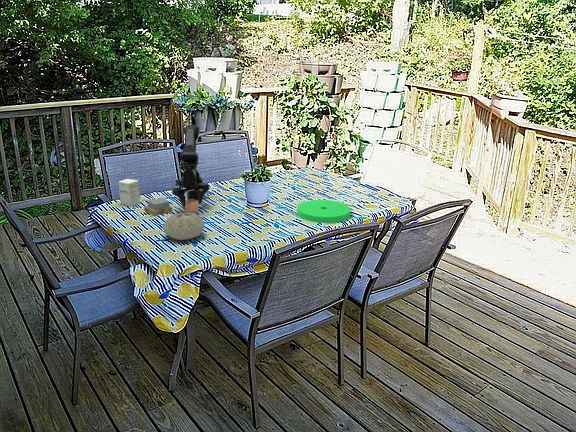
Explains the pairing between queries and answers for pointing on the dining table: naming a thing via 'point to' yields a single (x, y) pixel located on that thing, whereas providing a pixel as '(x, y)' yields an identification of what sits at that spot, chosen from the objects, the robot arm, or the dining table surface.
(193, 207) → the terracotta cube
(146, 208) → the walnut slab
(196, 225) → the decorative shell
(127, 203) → the supplement box
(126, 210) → the dining table surface
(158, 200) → the grey square block
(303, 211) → the disc
